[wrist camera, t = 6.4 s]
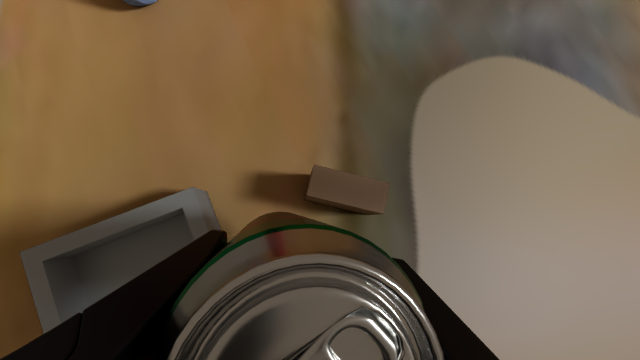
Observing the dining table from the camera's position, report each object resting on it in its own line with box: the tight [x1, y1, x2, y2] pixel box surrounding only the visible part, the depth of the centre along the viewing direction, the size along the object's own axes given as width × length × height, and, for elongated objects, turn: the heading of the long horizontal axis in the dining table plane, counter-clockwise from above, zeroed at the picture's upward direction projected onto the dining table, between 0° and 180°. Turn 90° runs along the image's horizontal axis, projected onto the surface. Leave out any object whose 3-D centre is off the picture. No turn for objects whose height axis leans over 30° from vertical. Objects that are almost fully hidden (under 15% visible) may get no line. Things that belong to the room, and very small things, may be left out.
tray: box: [20, 187, 221, 333], centre depth 19 cm, size 10×10×3 cm
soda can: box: [153, 212, 444, 360], centre depth 10 cm, size 5×5×12 cm
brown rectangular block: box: [305, 165, 390, 215], centre depth 20 cm, size 2×5×4 cm, turn 76°
